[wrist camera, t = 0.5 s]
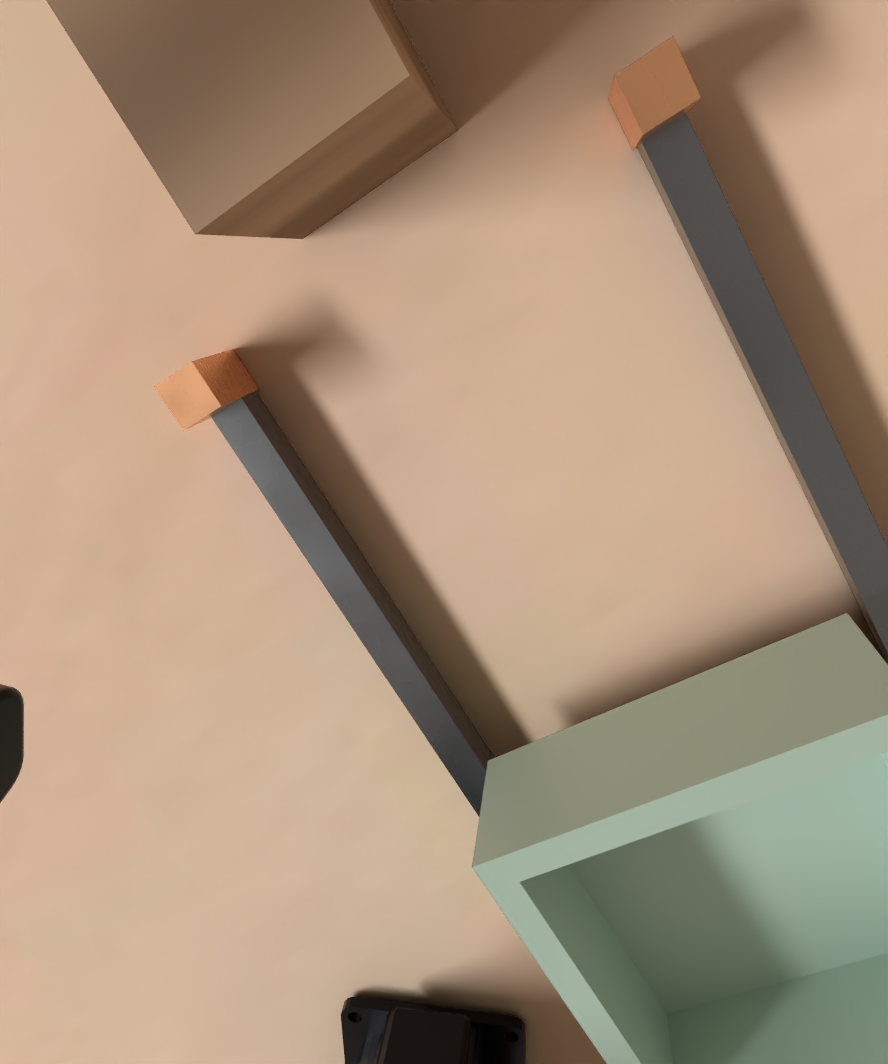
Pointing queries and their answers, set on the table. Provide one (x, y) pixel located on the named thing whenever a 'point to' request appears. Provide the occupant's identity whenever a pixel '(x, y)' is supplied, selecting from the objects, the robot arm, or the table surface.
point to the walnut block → (262, 102)
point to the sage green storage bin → (711, 860)
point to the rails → (755, 332)
